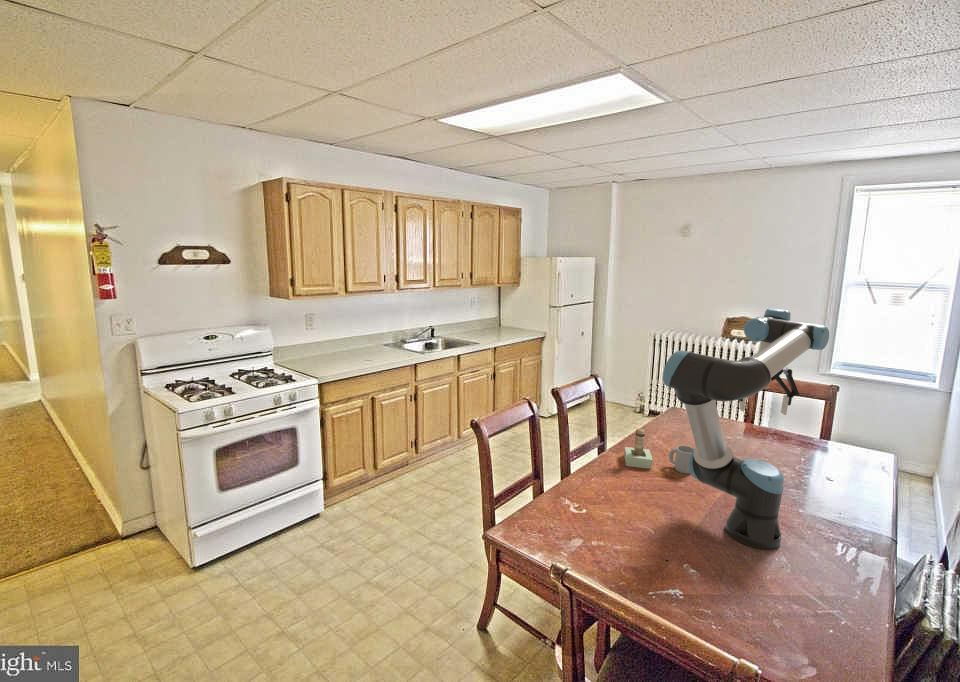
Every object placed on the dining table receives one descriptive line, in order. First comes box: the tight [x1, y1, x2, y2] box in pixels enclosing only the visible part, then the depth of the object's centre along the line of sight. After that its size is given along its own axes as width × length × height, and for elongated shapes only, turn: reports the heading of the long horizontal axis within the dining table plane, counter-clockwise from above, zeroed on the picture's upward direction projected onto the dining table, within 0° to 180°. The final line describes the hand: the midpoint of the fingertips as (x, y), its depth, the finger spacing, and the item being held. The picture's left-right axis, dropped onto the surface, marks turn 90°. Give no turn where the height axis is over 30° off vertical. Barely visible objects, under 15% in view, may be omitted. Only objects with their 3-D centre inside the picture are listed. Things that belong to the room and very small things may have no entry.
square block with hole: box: [623, 446, 654, 470], centre depth 197 cm, size 10×10×4 cm
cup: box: [668, 445, 695, 475], centre depth 192 cm, size 7×10×9 cm
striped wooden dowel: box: [633, 428, 646, 456], centre depth 196 cm, size 4×4×14 cm
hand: (762, 411), depth 169 cm, fingers open, 13 cm apart
